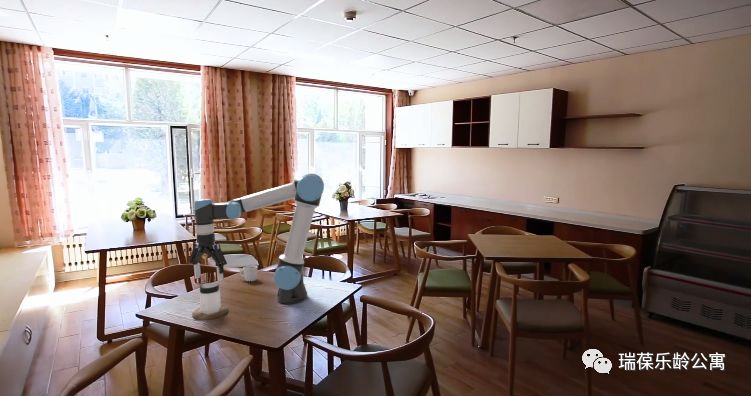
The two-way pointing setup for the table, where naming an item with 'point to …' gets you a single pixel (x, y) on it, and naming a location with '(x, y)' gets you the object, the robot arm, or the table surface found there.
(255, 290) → the table surface
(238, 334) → the table surface
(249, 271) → the cup
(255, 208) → the robot arm
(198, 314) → the disc
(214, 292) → the jar
